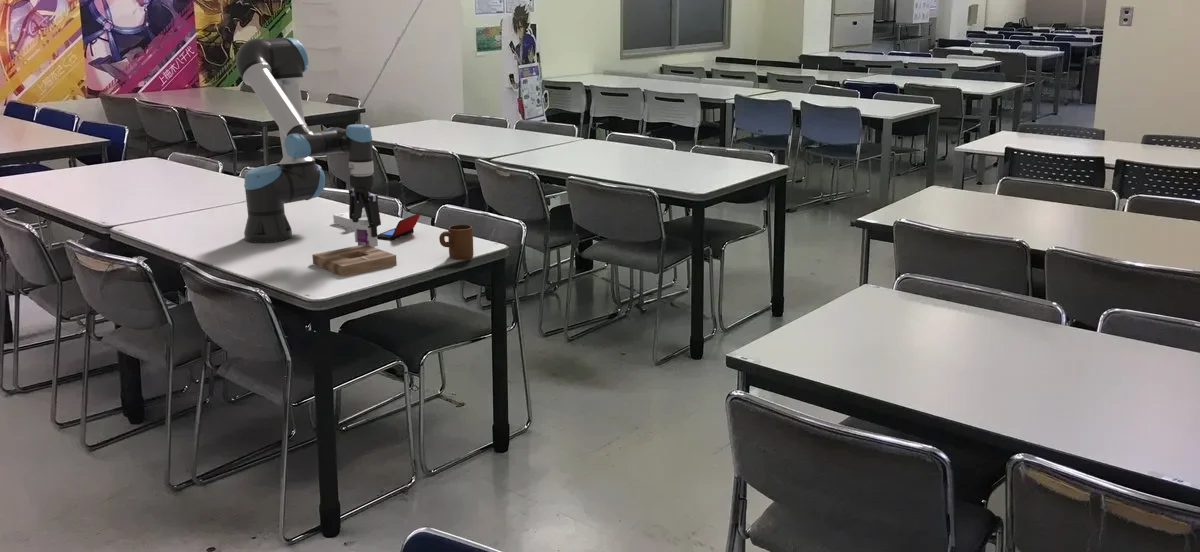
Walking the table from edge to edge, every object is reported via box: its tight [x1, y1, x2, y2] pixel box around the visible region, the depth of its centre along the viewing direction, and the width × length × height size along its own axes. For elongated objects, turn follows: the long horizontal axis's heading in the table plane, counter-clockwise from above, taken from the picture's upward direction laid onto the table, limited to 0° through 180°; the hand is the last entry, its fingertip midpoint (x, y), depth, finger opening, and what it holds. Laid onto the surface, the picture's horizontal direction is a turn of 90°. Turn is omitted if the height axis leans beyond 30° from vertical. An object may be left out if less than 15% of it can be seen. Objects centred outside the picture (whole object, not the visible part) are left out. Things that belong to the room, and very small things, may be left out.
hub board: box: [312, 244, 398, 277], centre depth 292 cm, size 18×18×3 cm
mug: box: [439, 224, 474, 260], centre depth 299 cm, size 12×8×9 cm, turn 138°
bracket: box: [332, 207, 367, 230], centre depth 341 cm, size 13×7×8 cm, turn 47°
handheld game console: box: [377, 213, 421, 241], centre depth 326 cm, size 12×11×7 cm
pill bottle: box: [357, 217, 369, 246], centre depth 310 cm, size 5×5×10 cm
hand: (366, 243), depth 311 cm, fingers open, 8 cm apart
